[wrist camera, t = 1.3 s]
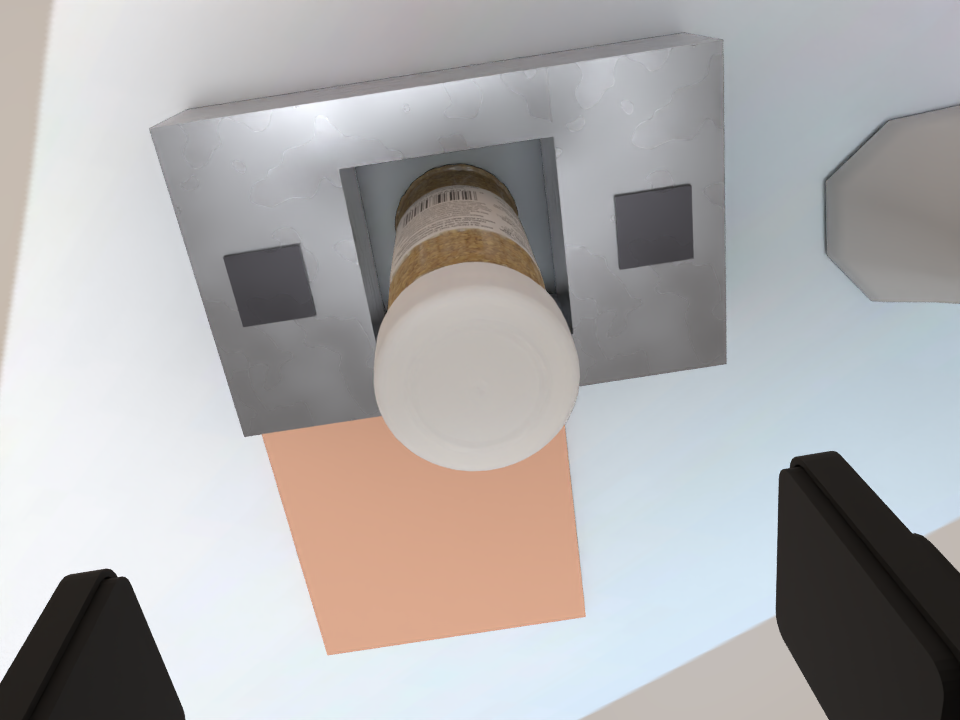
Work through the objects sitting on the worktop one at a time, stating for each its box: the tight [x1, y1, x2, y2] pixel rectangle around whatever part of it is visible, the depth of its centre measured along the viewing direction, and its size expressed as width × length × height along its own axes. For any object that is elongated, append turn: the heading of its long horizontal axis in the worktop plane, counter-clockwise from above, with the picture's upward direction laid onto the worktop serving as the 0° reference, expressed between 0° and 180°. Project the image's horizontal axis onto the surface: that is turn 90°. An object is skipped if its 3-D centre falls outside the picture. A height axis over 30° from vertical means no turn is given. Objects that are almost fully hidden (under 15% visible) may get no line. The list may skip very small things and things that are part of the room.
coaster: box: [262, 416, 586, 655], centre depth 35 cm, size 12×12×1 cm
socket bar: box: [149, 33, 726, 437], centre depth 28 cm, size 17×11×4 cm, turn 98°
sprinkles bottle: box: [374, 164, 580, 471], centre depth 23 cm, size 5×5×14 cm
